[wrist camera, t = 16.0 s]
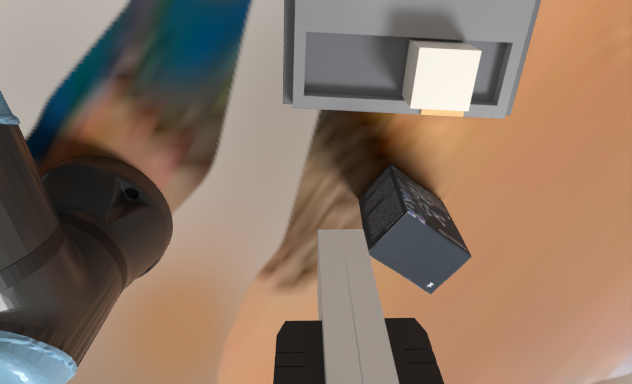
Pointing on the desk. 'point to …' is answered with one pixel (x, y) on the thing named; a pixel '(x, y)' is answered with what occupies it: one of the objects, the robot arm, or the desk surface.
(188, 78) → the desk surface
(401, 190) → the box
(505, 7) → the dip bank
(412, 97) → the tab
